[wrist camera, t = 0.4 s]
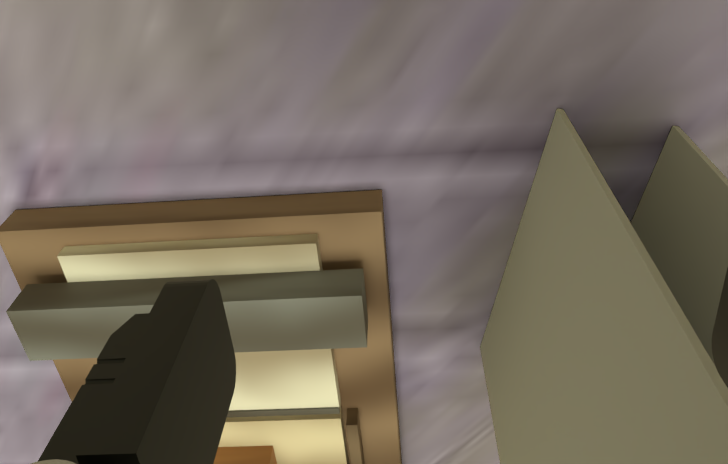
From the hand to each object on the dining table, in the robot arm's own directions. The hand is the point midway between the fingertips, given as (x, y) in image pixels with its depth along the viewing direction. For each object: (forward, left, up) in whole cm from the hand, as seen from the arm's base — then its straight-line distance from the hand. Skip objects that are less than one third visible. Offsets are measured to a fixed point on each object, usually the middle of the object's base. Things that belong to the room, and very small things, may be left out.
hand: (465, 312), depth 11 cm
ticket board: (+19, -11, -19) cm, 29 cm away
